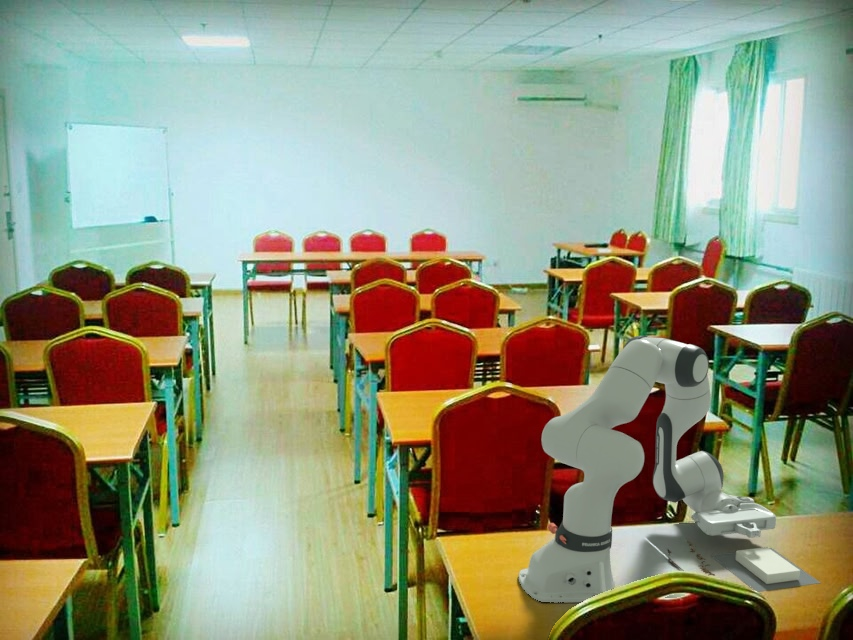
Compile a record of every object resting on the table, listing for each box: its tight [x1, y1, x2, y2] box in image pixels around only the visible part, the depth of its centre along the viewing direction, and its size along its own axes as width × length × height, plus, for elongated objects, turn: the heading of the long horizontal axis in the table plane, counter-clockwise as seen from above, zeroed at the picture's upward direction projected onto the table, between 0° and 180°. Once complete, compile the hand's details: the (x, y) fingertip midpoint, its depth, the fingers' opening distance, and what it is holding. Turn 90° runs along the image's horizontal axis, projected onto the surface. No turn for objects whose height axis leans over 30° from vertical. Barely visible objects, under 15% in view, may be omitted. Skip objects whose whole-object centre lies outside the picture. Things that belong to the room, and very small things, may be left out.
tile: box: [735, 546, 800, 584], centre depth 192 cm, size 9×3×12 cm
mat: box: [710, 547, 822, 593], centre depth 193 cm, size 18×18×1 cm
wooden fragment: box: [667, 541, 716, 577], centre depth 199 cm, size 26×11×1 cm, turn 179°
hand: (755, 534), depth 196 cm, fingers closed
